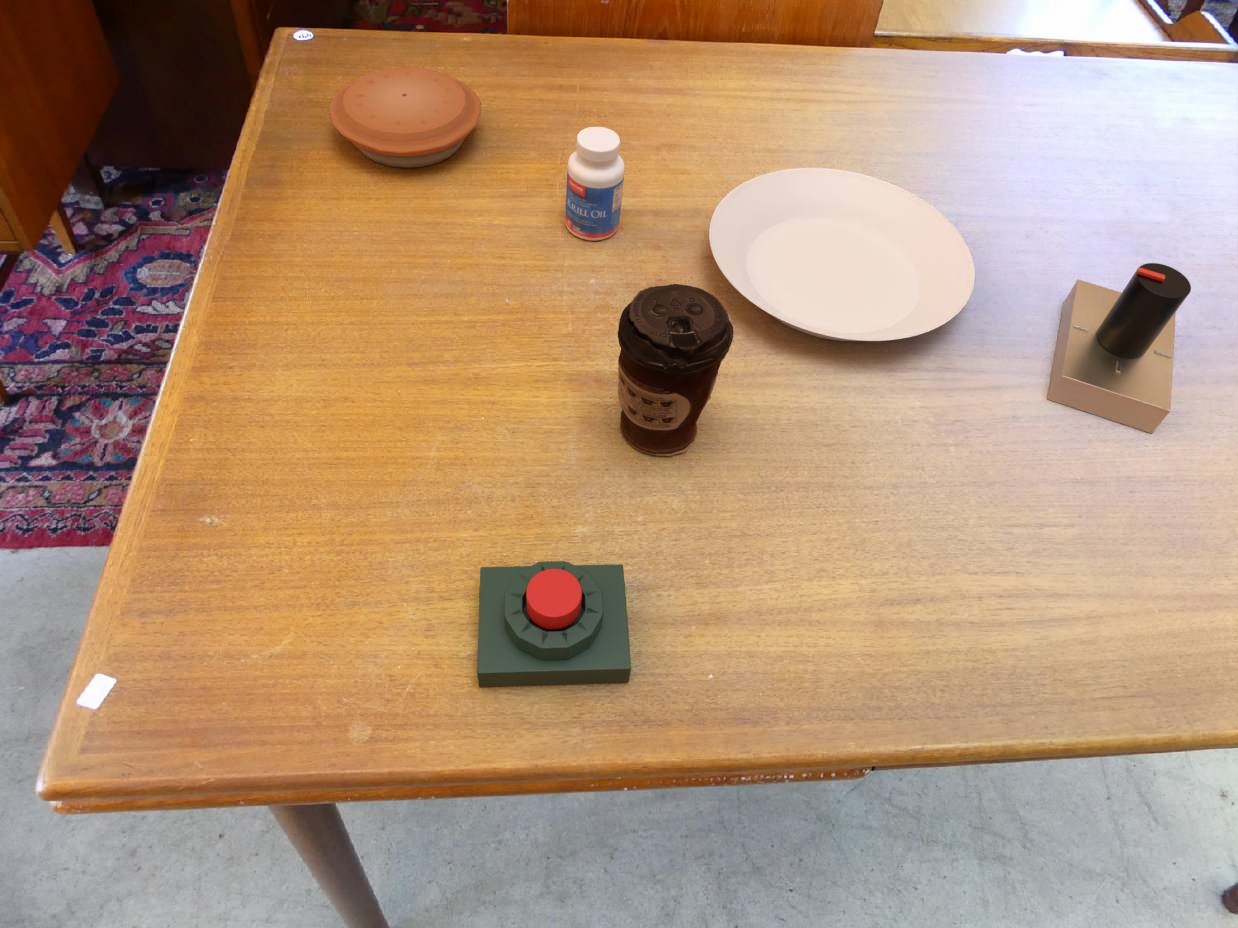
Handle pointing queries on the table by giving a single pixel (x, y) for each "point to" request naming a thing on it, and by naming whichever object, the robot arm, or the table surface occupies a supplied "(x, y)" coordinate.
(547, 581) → the button
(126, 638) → the table surface
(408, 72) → the pie
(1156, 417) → the panel
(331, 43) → the table surface
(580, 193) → the pill bottle
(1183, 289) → the hob knob
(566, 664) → the button box
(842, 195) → the white plate
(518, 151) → the table surface
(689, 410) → the coffee cup
